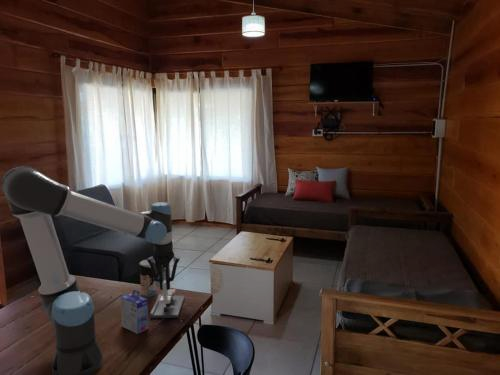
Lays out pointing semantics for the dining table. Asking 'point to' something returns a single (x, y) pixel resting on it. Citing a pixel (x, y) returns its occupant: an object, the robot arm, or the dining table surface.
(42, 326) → the dining table surface
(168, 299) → the key cream
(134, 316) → the ink cartridge box
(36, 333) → the dining table surface
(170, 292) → the key grey
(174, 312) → the keypad board
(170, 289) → the key terracotta
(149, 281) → the printed cylindrical canister
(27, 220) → the robot arm
